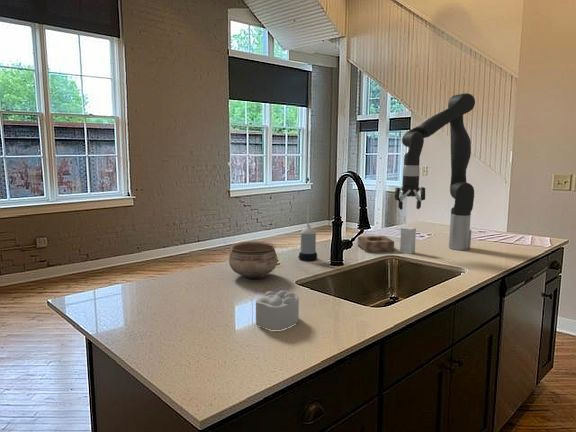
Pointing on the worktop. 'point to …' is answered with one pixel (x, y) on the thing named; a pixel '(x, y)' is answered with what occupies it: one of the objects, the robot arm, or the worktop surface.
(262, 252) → the cooking pot
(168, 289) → the worktop surface
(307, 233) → the grey bottle
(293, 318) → the lumpy-topped squat cylinder
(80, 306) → the worktop surface
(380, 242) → the holder
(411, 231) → the skincare box
